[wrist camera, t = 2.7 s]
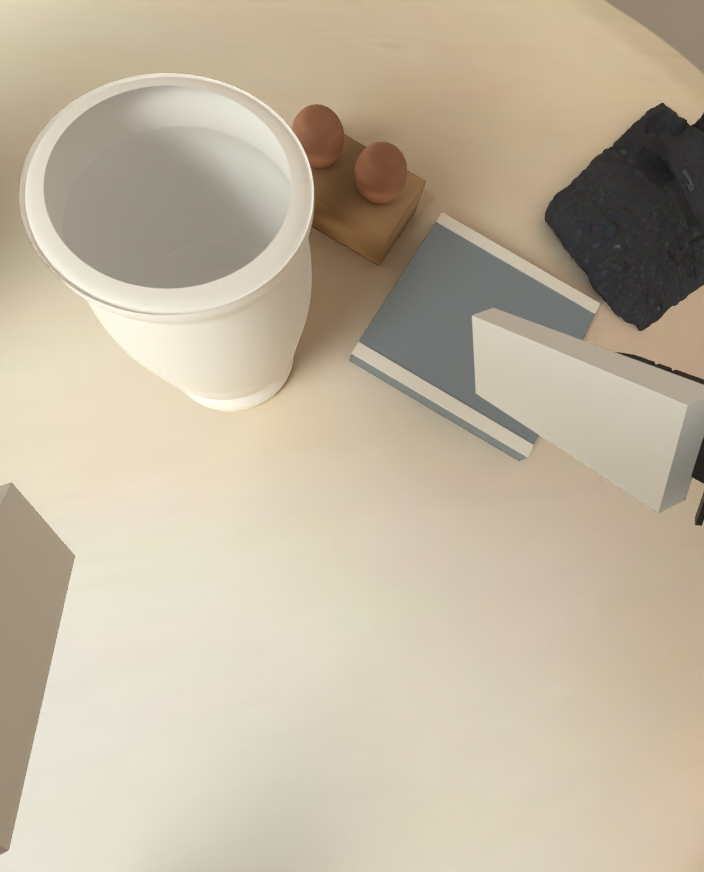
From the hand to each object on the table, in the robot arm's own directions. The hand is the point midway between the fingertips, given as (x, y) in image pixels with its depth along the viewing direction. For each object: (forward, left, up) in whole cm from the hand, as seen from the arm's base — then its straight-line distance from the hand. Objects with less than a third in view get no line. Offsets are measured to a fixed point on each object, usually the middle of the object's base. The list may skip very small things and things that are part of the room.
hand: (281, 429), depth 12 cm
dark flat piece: (+14, +37, -17) cm, 43 cm away
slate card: (+5, +17, -16) cm, 24 cm away
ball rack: (-9, +21, -16) cm, 28 cm away
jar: (-9, +6, -17) cm, 20 cm away
